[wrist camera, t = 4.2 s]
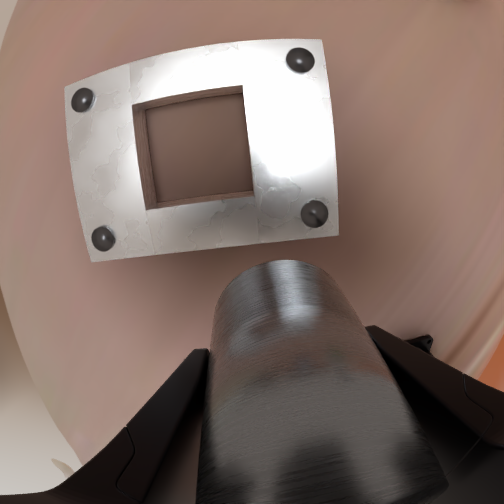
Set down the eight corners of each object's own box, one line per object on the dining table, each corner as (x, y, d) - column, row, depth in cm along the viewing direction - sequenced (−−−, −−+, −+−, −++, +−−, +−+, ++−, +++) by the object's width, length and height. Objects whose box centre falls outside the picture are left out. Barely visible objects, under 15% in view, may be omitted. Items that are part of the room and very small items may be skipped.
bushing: (347, 251, 8) (500, 452, 2) (340, 358, 10) (404, 528, 3) (202, 268, 8) (146, 532, 2) (225, 373, 10) (222, 561, 3)
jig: (312, 51, 15) (322, 37, 12) (327, 225, 19) (340, 236, 16) (82, 91, 15) (62, 86, 12) (105, 250, 19) (89, 264, 17)
